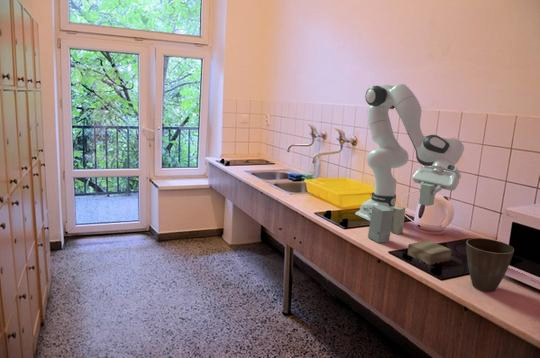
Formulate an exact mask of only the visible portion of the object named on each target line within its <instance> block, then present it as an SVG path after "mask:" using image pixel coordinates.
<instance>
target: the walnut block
mask: <svg viewBox="0 0 540 358" xmlns="http://www.w3.org/2000/svg"><path fill="white" fill-rule="evenodd" d="M407 246H408V247H407V256H410V257H412V258H413V259H416V258H417V259H416V260H418V259H419V260H418V261H420V260H421V261H420V262H422V261H423V263H424V262H425V264H426V265H429V266H431V265H432V266H433V265H435V263H437V264H440V262H441V263H444V262H449V261H451V255H452V249H451V248H448V247H446V246H444V245H441V244H439V243H436V242H434V241H432V240H430V239H429V240H428V239H427V240H423V241H418V242H413V243H412V242H411V243H408V245H407Z"/></svg>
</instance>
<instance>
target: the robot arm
mask: <svg viewBox="0 0 540 358" xmlns="http://www.w3.org/2000/svg"><path fill="white" fill-rule="evenodd" d="M364 98H365V101H366V103H367V104H368V105H369V106H368V109H367V121H368V126H369V131H370V135H371V138H372V141H373V142H375V143H376V144H377V145H378V147H380V148H377V149H373V150H371V151H370V152H369V153H368V154H367V157H366V162H367V163H366V164H367V165H368V166H369V168H371V170H372V173H373V176H374V191H373V192H371V193H370V194H369V196H371V197H370V199H368V200H366V201H364V202H363V203H362V204H361V205H360V208H359V210H358V211H356V212H355V215H356V216H358V217H360V218H363V219H365V220H367V221H369V222H370V219H371V213H372V206H379V205H383V206H385V207H388V208H390V209H392V210H393V208H394V207H396V202H397V194H396V192H397V179H396V178H395V177H394V176H393V174H392V169H397V168H401V167H403V166H405V165H406V164H407V163H408V162H409V153H408V151H407V150H406V149H405V148H403V147H402V146H401V145H400V143H399V142H398V139H396V135H394V131H393V128H392V124H391V119H390V116H389V110H395V111H396V112H397V115H398V116H399V119H400V120H401V122H402V124H403V126H404V128H405V131H406V133H407V135H408V138H409V139H410V141H411V143H412V146H413V148H414V150H415V158H416V160H417V162H418V163H419V164H420V165H422V166H420V167H419V168H418V169H417V170H416V171H415V173H414V174H413V175H412V180H413V182H414V183H415V184H420V187H419V189H418V190H419V192H420V190H421V184H425V183H429V184H433V185H436V189H435V190H432V191H431V194H432V195H435V196H436V195H437V193H439V192H441V191H442V189H443V190H448V191H451V192H452V191H455V190H456V189H457V187H458V185H459V182H460V179H461V178H462V175H461V172H460V170H459V168H458V167H457V166H456V164H457V163H459V161H460V159H461V157H462V156H463V154H464V150H465V146H464V144H463V142H461V140H459V139H458V138H455V137H452V138H444V137H440V136H439V135H436V134H430V135H426V136H425V135H424V133H423V132H422V129H421V120H422V119H421V117H422V111H423V110H422V107H421V104H420V101H419V99H418V98H417V96H416V95H415V94H414V92H413V91H412V90H411V89H410V88H409V87H408V86H407V85H406V84H404V83H398V84H396V85H391V84H384V85H383V84H382V85H373V86H370V87H369V88H368V89H367V90H366V92H365V97H364Z"/></svg>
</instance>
